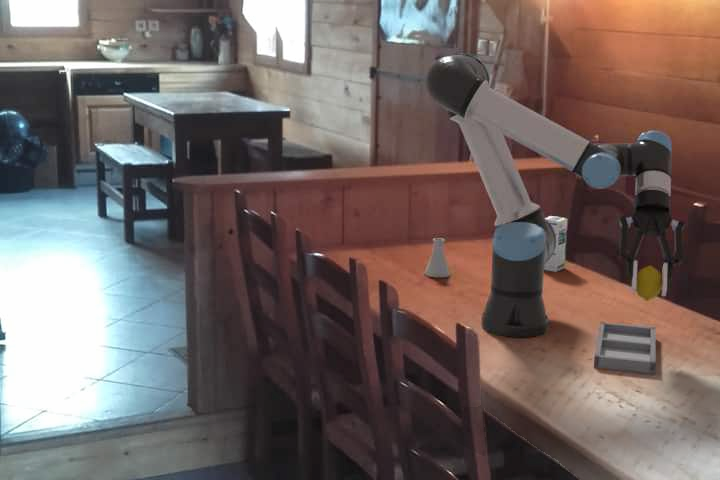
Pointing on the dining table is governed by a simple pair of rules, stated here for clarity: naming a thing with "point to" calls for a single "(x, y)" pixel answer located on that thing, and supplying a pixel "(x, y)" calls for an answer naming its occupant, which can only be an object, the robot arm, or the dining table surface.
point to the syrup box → (558, 244)
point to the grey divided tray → (626, 348)
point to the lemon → (648, 283)
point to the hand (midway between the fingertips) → (648, 292)
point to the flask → (437, 261)
